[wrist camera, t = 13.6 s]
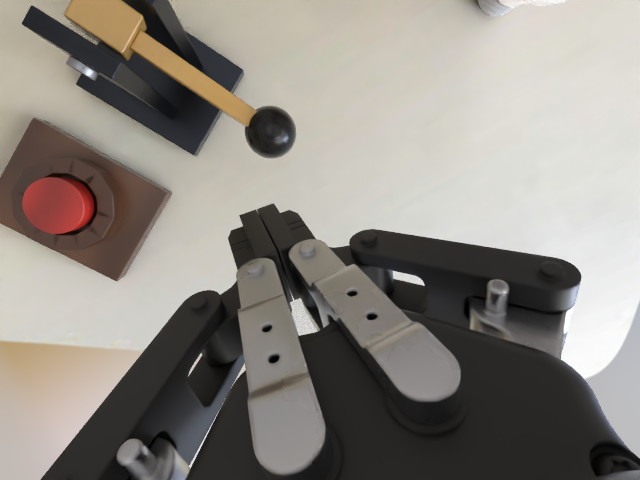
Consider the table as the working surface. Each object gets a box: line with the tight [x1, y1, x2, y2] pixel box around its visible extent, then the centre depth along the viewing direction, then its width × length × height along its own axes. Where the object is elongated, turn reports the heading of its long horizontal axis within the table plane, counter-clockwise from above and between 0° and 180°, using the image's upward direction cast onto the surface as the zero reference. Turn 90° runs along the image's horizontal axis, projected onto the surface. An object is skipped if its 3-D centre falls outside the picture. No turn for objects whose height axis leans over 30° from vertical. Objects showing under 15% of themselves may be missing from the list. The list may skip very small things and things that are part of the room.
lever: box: [64, 0, 296, 158], centre depth 21 cm, size 13×3×3 cm, turn 60°
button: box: [22, 177, 95, 234], centre depth 27 cm, size 4×4×2 cm
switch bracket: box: [22, 0, 244, 156], centre depth 24 cm, size 10×8×13 cm
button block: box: [0, 118, 172, 281], centre depth 29 cm, size 11×8×4 cm
